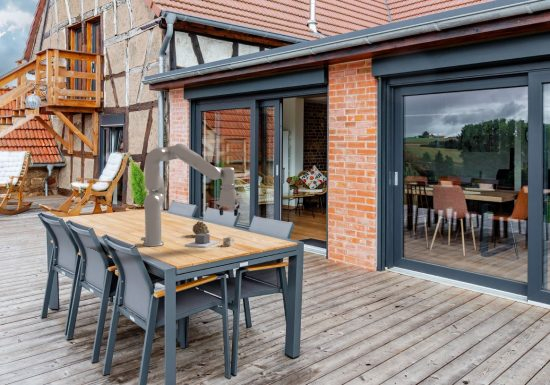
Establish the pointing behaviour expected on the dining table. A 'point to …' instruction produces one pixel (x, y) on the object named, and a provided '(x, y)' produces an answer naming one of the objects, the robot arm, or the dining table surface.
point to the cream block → (228, 241)
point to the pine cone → (200, 228)
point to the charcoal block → (202, 238)
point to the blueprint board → (202, 244)
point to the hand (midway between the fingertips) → (228, 215)
